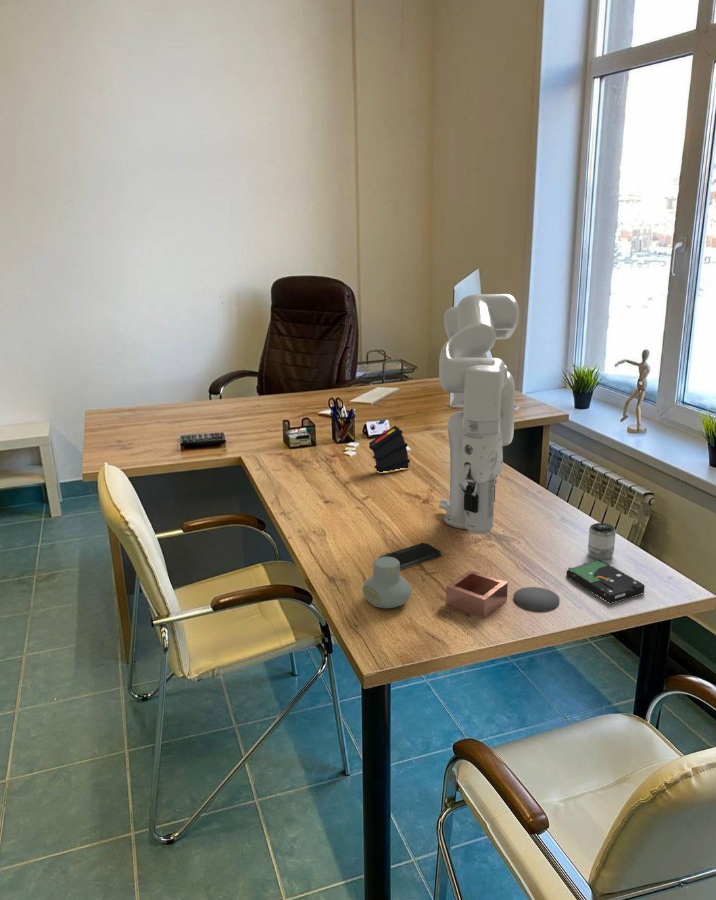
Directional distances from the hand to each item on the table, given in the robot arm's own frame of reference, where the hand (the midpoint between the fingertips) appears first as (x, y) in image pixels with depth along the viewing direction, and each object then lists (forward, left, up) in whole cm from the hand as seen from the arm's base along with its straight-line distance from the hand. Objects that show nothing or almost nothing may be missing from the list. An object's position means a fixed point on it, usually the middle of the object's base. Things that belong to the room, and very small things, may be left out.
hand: (479, 505), depth 164 cm
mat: (+10, +9, -23) cm, 27 cm away
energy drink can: (0, 0, -6) cm, 6 cm away
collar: (0, 0, -23) cm, 23 cm away
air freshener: (-16, -12, -24) cm, 31 cm away
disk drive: (+19, +25, -24) cm, 39 cm away
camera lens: (+12, +39, -24) cm, 47 cm away
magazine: (-68, +56, -24) cm, 91 cm away
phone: (-25, +9, -24) cm, 36 cm away
